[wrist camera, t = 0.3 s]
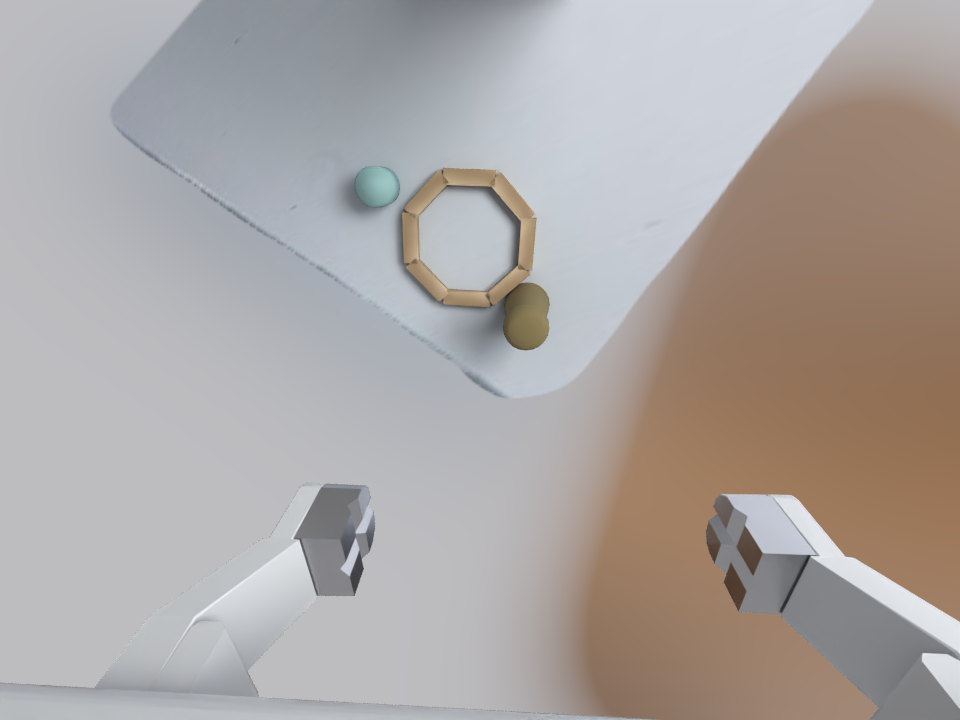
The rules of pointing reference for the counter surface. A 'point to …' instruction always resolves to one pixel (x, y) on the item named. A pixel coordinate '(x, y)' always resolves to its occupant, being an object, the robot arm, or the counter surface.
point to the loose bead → (377, 186)
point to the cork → (526, 316)
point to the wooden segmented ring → (412, 235)
